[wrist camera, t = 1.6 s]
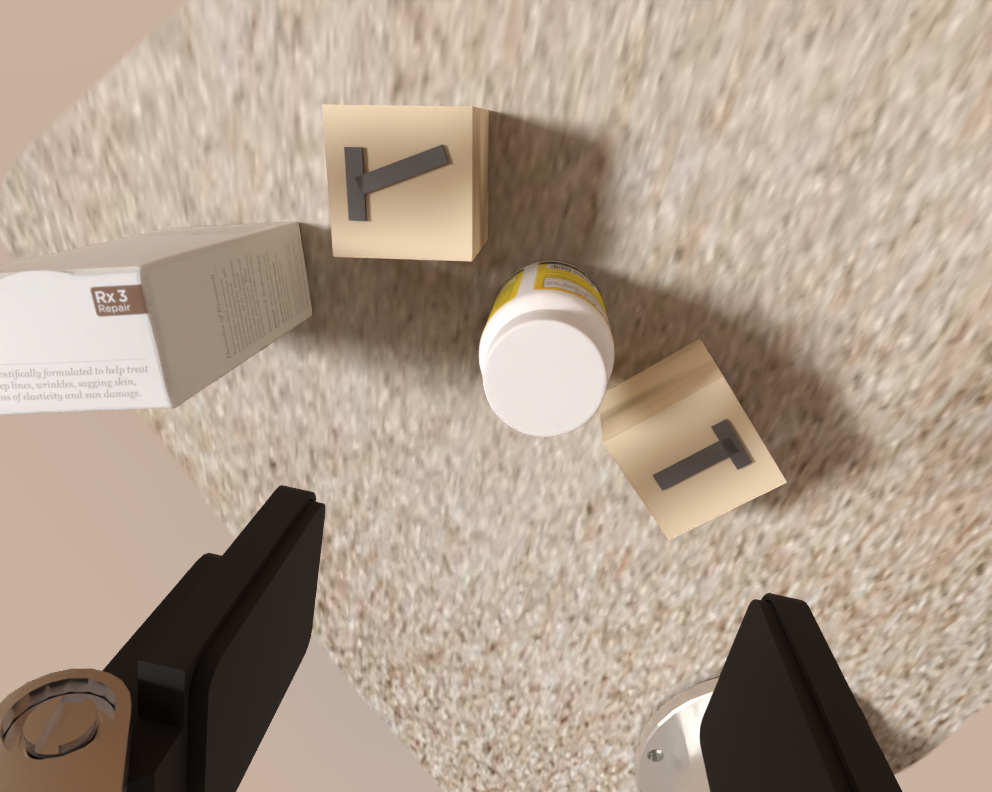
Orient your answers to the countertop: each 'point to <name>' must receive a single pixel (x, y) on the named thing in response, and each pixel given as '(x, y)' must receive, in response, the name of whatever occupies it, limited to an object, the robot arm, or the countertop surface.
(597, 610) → the countertop surface
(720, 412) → the digit block one
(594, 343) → the supplement bottle
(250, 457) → the countertop surface
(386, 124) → the digit block seven
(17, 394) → the skincare box
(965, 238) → the countertop surface
